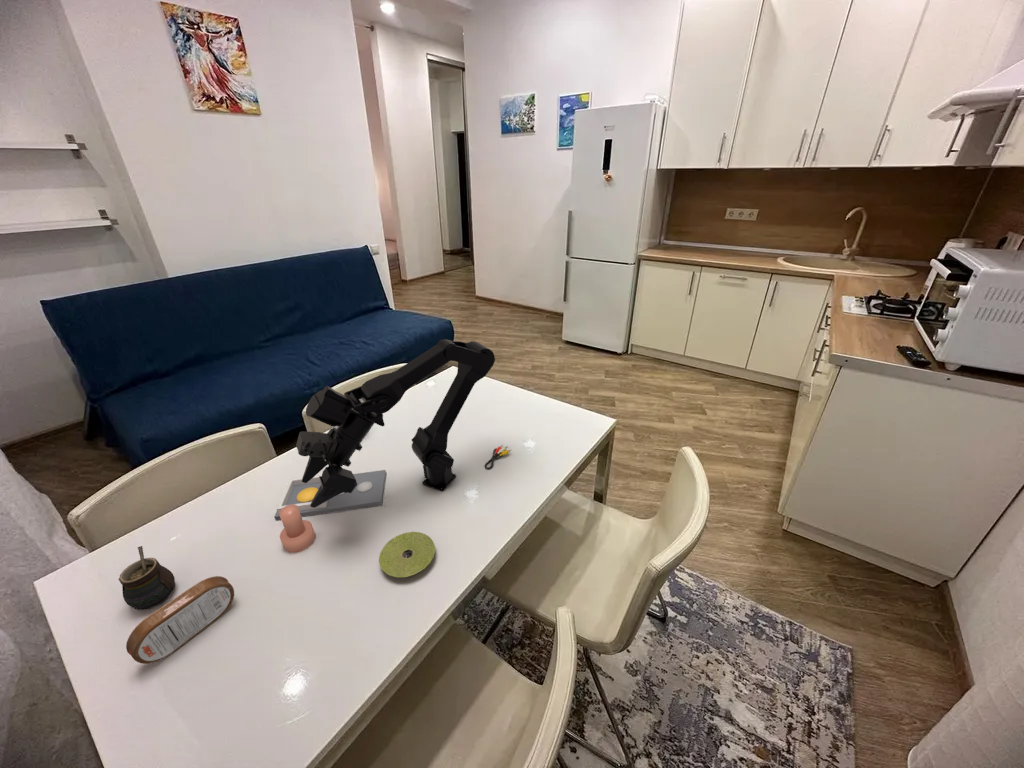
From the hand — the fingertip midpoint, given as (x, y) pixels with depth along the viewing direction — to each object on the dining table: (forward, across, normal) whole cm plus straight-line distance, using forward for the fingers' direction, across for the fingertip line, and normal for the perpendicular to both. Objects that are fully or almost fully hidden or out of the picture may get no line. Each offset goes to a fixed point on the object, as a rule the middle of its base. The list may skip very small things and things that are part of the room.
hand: (307, 494), depth 86 cm
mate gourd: (+29, -2, -12) cm, 32 cm away
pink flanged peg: (+11, 0, +5) cm, 12 cm away
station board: (+4, -10, +12) cm, 16 cm away
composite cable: (-24, +1, +41) cm, 47 cm away
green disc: (-2, +19, +18) cm, 26 cm away
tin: (+25, +11, -8) cm, 28 cm away
